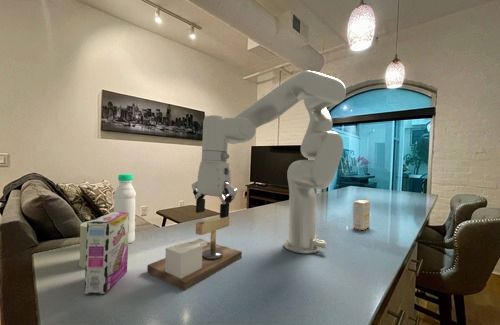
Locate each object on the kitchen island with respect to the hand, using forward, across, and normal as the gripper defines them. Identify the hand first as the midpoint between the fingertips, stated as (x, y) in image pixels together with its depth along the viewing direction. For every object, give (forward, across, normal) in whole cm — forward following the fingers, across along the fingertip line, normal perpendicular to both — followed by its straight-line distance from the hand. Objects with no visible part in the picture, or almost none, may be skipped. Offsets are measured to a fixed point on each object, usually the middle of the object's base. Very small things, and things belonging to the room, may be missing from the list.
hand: (211, 214), depth 69 cm
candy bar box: (+16, +12, +23) cm, 30 cm away
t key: (+12, 0, -1) cm, 13 cm away
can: (+16, +28, +19) cm, 37 cm away
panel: (+15, +2, +3) cm, 15 cm away
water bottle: (+15, +38, +6) cm, 41 cm away
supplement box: (+13, -32, -70) cm, 78 cm away
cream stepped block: (+13, 0, +8) cm, 15 cm away
